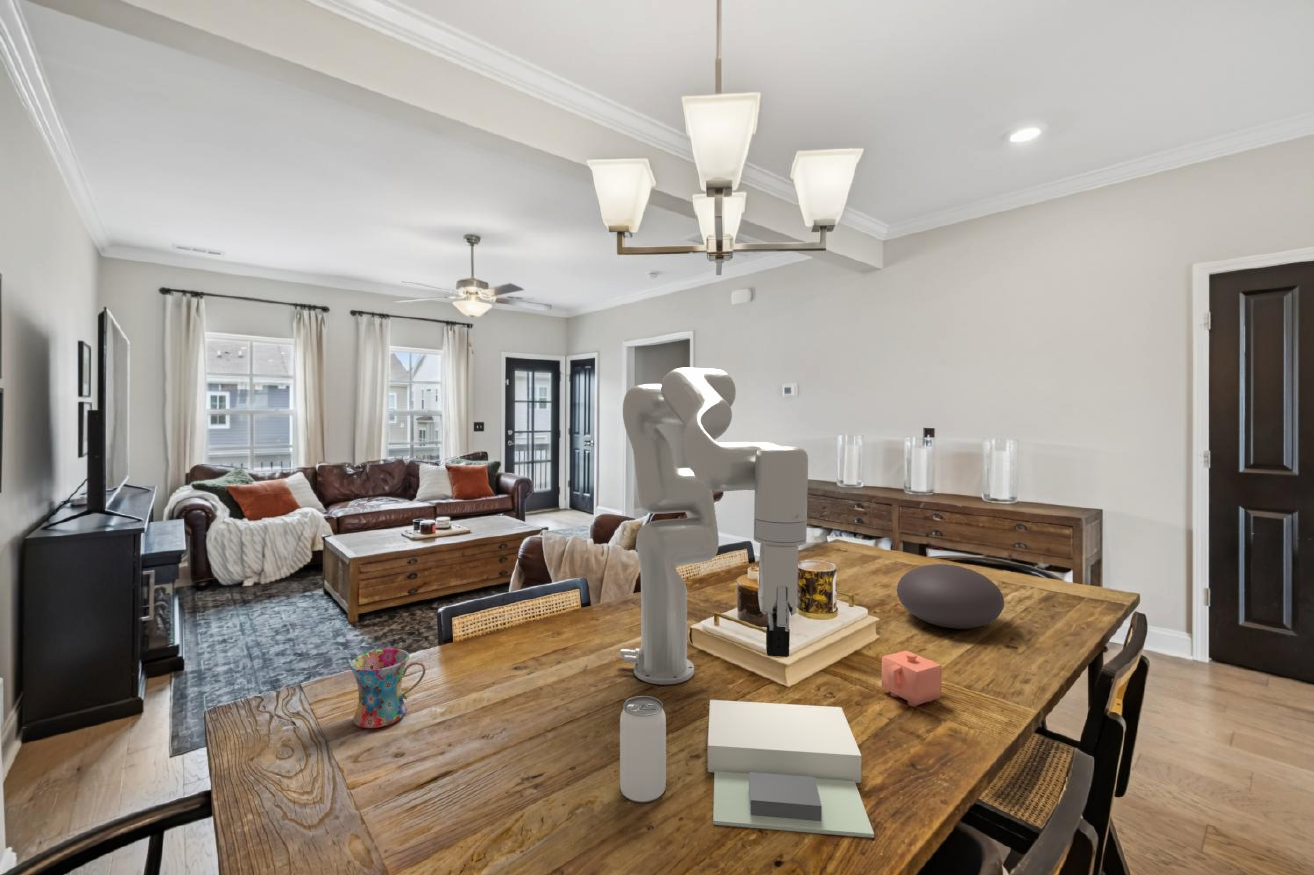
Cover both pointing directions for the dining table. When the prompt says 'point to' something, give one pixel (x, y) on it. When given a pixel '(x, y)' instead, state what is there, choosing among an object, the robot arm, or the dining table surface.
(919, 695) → the pink cube teapot
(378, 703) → the mug
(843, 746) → the plate
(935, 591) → the flattened ellipsoid
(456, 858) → the dining table surface
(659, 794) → the can
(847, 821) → the mat
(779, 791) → the tile
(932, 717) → the dining table surface
